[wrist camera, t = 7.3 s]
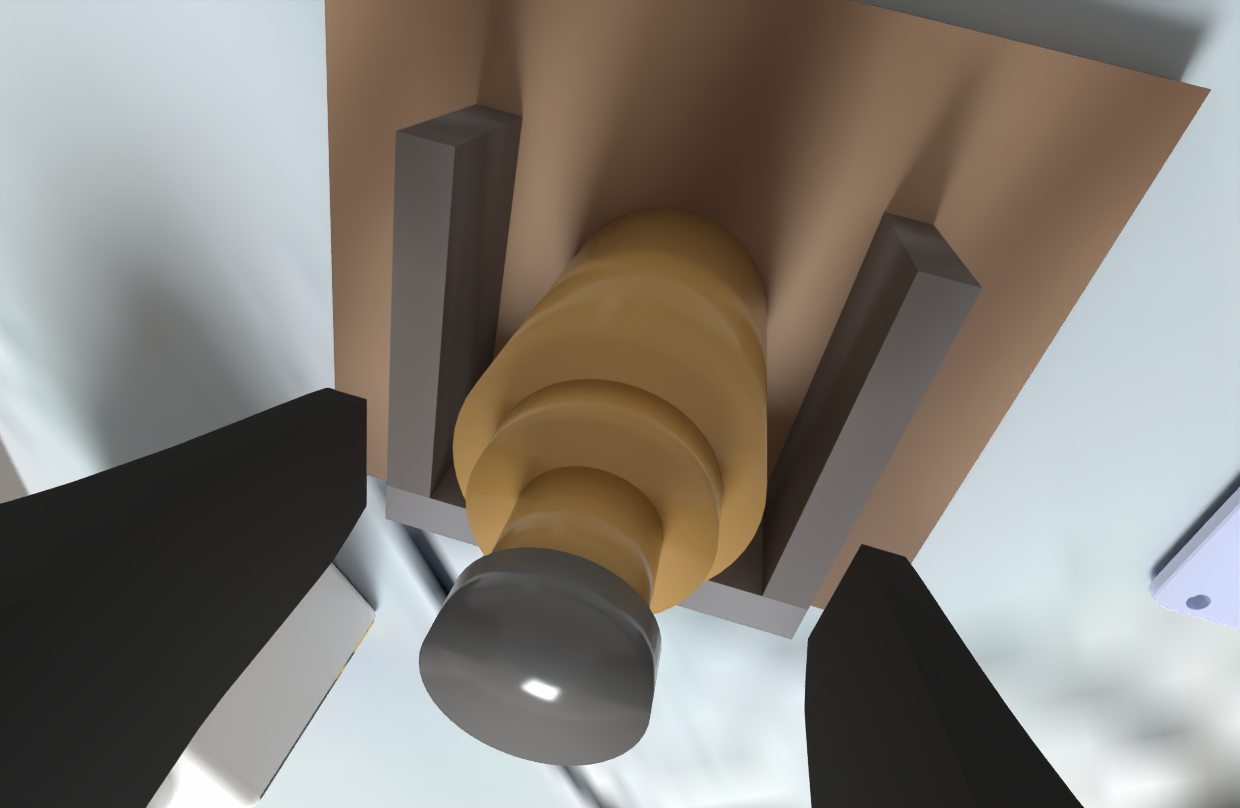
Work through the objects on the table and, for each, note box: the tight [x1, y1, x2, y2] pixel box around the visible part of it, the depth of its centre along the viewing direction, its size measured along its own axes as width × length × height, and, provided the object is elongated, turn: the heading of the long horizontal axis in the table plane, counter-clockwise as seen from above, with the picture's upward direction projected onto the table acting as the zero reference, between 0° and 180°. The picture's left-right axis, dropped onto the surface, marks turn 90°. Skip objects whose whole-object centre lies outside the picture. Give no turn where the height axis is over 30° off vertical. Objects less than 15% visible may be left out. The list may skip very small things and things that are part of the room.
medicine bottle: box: [146, 563, 376, 808], centre depth 19 cm, size 7×7×12 cm
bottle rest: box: [325, 0, 1211, 639], centre depth 14 cm, size 16×14×4 cm
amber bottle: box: [419, 208, 767, 766], centre depth 11 cm, size 5×5×10 cm
